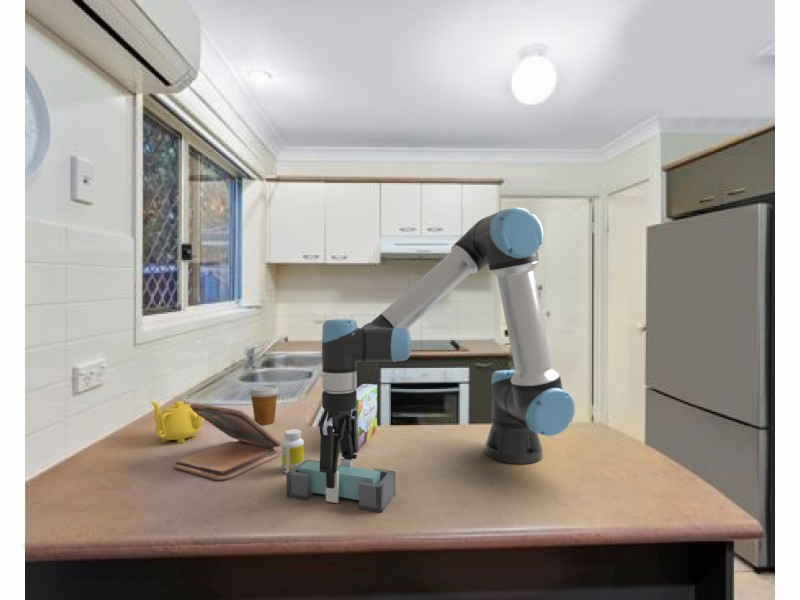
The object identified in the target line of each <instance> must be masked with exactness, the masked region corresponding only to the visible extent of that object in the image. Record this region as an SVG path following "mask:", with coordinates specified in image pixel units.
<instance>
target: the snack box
mask: <svg viewBox="0 0 800 600" xmlns="http://www.w3.org/2000/svg"><path fill="white" fill-rule="evenodd" d="M354 390H356V392H357V405H356V407H355V408H354V409H352V410H354V411H357V419H356V428H357V452H356V453H358V452H359V451H360V450H361V449H362V447H363V446H364V445H365V444H366V442H368V440H369V439H370V438H371V437H372V436H373V435H374V434H375V432H376V431H377V430H378V384H373V383H362V384H361V385H359V386H357V388H356V389H354Z"/></svg>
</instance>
